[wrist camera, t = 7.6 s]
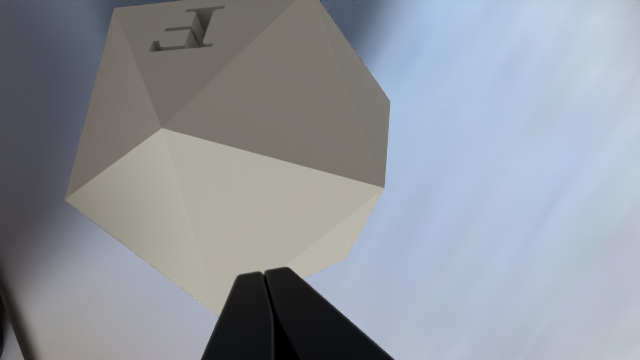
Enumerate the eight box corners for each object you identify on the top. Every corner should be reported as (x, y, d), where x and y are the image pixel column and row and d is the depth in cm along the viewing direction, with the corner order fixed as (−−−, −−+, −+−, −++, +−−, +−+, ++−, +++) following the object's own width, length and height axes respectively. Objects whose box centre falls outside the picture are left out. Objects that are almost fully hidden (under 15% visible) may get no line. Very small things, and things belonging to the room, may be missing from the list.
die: (391, 29, 19) (362, -120, 10) (400, 271, 19) (381, 353, 10) (177, 49, 21) (-26, -66, 11) (184, 273, 21) (-15, 346, 11)
